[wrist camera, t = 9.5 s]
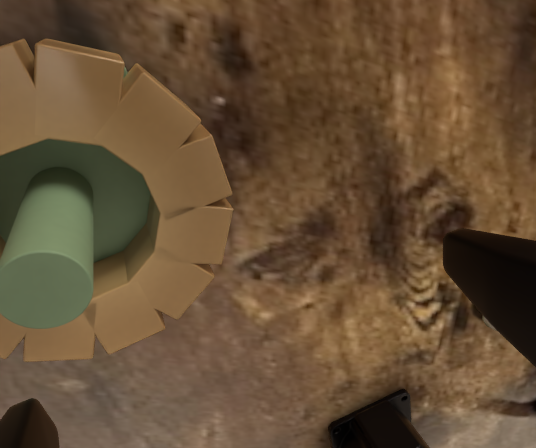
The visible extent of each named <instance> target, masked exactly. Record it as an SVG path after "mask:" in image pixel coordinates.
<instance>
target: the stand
mask: <svg viewBox="0 0 536 448" xmlns="http://www.w3.org/2000/svg"><path fill="white" fill-rule="evenodd" d="M126 75H127V70H126V68H125V66H124V76H123V78H124V77H125V76H126ZM150 194H151V193H150V191H149V189H148V187H147V185H146V182H145V180H144V178H143V176H142V174H141V173H139V172H138V171H136V170H135V169H134V168H132V167H131V166H129V165H128V164H126V163H125V162H123V161H122V160H121V159H119V158H118V157H116V156H115V155H113V154H112V153H111V152H109V151H108V150H106V149H105V148H103V147H102V146H97V145H89V144H82V143H74V142H67V141H60V140H52V139H46V140H43V141H41V142H38V143H35V144H32V145H30V146H27V147H24V148H21V149H18V150H16V151H13V152H10V153H7V154H5V155H2V156H0V235H1V237H2V238H3V240H4V241H5V242H6V245H5V248H4V250H3V253H2V256H1V258H0V314H1V315H3V316H4V317H5V318H6V319H8V320H9V321H11V322H13V323H15V324H17V325H20V326H23V327H27V328H33V329H48V328H54V327H58V326H62V325H64V324H67V323H69V322H71V321H72V320H74V319H76V318H77V317H78V316H79V315H81V314H82V313H83V312H84V310H85V309H86V308H87V307H88V305H89V303H90V301H91V299H92V296H93V263H95V262H97V261H100V260H102V259H104V258H107V257H109V256H112V255H114V254H116V253H119V252H121V251H124V249H125V248H126V247H127V246H128V245H129V243H130V242H131V241H132V240H133V239H134V237H135V236H136V235H137V234H138V233H139V231H140V230H141V229H142V228H143V227H144V225H145V224H146V223H147V215H148V208H149V201H150Z"/></svg>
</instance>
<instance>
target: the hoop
mask: <svg viewBox="0 0 536 448" xmlns="http://www.w3.org/2000/svg"><path fill="white" fill-rule="evenodd" d="M124 66H125V64H124V61H123V60H122V58H121V56H120V55H119V54H116V53H112V52H107V51H102V50H98V49H93V48H89V47H84V46H80V45H75V44H70V43H66V42H61V41H57V40H52V39H47V38H46V39H43V40H41V41H40V42H38V43H36V44H35V55H33V53H32V51H31V49H30V48H29V46H28V44H27V42H26V40H25V39H21V40H18V41H15V42H11V43H8V44H5V45H2V46H0V156H2V155H5V154H7V153H10V152H13V151H16V150H18V149H21V148H24V147H27V146H30V145H32V144H35V143H38V142H41V141H43V140H46V139H52V140H60V141H67V142H74V143H82V144H89V145H97V146H102V147H103V148H105V149H106V150H108V151H109V152H111V153H112V154H113V155H115V156H116V157H118V158H119V159H121V160H122V161H123V162H125V163H126V164H128V165H129V166H131V167H132V168H134V169H135V170H136V171H138V172H139V173H141V174H142V176H143V178H144V180H145V182H146V185H147V187H148V189H149V191H150V193H151V194H150V201H149V208H148V215H147V223H146V224H145V225H144V227H143V228H142V229H141V230H140V231H139V233H138V234H137V235H136V236H135V237H134V239H133V240H132V241H131V242H130V243H129V245H128V246H127V247H126V248H125V249H124V251H121V252H119V253H116V254H114V255H112V256H109V257H107V258H104V259H102V260H100V261H97V262H95V263H93V296H92V299H91V301H90V303H89V305H88V307H87V308H86V309H85V310H84V312H83V313H82V314H81V315H79V316H78V317H77V318H76V319H74V320H72V321H71V322H69V323H67V324H64V325H62V326H58V327H54V328H48V329H33V328H27V327H23V326H20V325H17V324H15V323H13V322H11V321H9V320H8V319H6V318H5V317H4V316H3V315H1V314H0V358H3V359H6V358H7V357H8V356H9V355H10V354H11V352H12V351H13V350H14V349H15V348H16V346H17V345H18V344H19V343H20V342H21V340H22V339H23V338H24V350H23V360H24V362H36V361H57V360H78V359H92V358H93V355H94V346H95V336H96V337H97V338H98V340H99V341H100V343H101V344H102V346H103V347H104V349H105V350H106V352H107V354H109V355H110V354H112V353H114V352H116V351H119V350H121V349H123V348H125V347H127V346H130V345H132V344H134V343H136V342H138V341H140V340H143V339H145V338H147V337H149V336H151V335H154V334H156V333H158V332H160V331H162V330H164V329H165V324H164V320H163V315H162V313H164V314H166V315H168V316H170V317H172V318H174V319H176V320H178V319H179V318H180V317H181V316H182V314H183V313H184V312H185V311H186V310H187V309H188V308H189V306H190V305H191V304H192V303H193V302H194V301H195V299H196V298H197V297H198V296H199V295H200V294H201V293H202V291H203V290H204V289H205V288H206V287H207V286H208V284H209V283H210V282H211V281H212V280H213V279H214V277H215V276H214V274H213V271H212V269H211V267H210V265H209V264H222V260H223V256H224V251H225V246H226V242H227V237H228V233H229V228H230V223H231V219H232V214H233V208H232V206H231V205H230V204H229V202H228V201H227V199H226V197H228V196H230V195H232V190H231V188H230V185H229V182H228V179H227V176H226V173H225V170H224V168H223V165H222V162H221V159H220V156H219V153H218V151H217V148H216V145H215V142H214V139H213V136H212V135H211V134H210V133H209V132H208V131H207V130H206V129H205V128H204V127H203V126H202V125H201V124H200V123H201V119H200V118H199V117H198V116H197V115H196V114H195V113H194V112H193V111H192V110H191V109H190V108H189V107H188V106H187V105H186V104H185V103H183V102H182V101H181V100H180V99H179V98H178V97H176V96H175V95H174V94H173V93H172V92H171V91H169V90H168V89H167V88H166V87H165V86H164V85H162V84H161V83H160V82H159V81H158V80H156V79H155V78H154V77H153V76H152V75H151V74H149V73H148V72H147V71H146V70H145V69H144V68H142V67H141V66H140V65H139V64H137V63H136V64H135V65H134V66H133V67H132V68H131V70H130V71H129V72H128V73H127V75H126V76H125V77H124V78H123V76H124ZM5 245H6V242H5V241H4V240H3V238H2V237H1V235H0V258H1V256H2V253H3V250H4V248H5Z"/></svg>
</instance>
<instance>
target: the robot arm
mask: <svg viewBox="0 0 536 448" xmlns="http://www.w3.org/2000/svg"><path fill="white" fill-rule="evenodd" d="M443 266H444V269H445V271H446V273H447V274H448V275H449V276H450V278H451V279H452V280H453V281H454V282H455V283H456V285H457V286H458V287H459V288H460V289H461V290H462V292H463V293H464V294H465V295H466V296H467V297H468V299H469V300H470V301H471V302H472V303H473V304H474V306H475V307H476V308H477V309H478V310H479V312H480V313H481V314H482V315H483V316H484V317H485V318H486V319H487V320H488V322H489V323H490V324H491V325H492V326H493V327H494V328H495V329H496V330H497V331H498V332H499V333H500V334H502V335H503V336H504V337H505V338H506V339H507V340H508V341H509V342H510V343H511V344H512V345H513V346H514V347H515V348H516V349H517V350H518V351H519V352H520V353H521V354H522V355H523V356H524V357H526V358H527V359H528V360H529V361H530V362H531V363H532V364H533V365H534V366H535V367H536V241H534V240H528V239H522V238H516V237H511V236H505V235H499V234H493V233H487V232H481V231H476V230H470V229H464V228H460V229H457V230H454V231H452V232H449V233H447V234H446V235H445V236H444V238H443ZM328 432H329V437H330V442H331V447H332V448H430V447H429V446H428V445H427V444H426V442H425V441H424V440H423V438H422V437H421V436H420V434H419V433H418V432H417V431H416V429H415V428H414V427H413V425H412V424H411V408H410V394H409V393H408V392H407V391H406V390H405V389H402V390H399V391H397V392H395V393H393V394H391V395H389V396H387V397H385V398H383V399H380V400H378V401H376V402H374V403H372V404H370V405H368V406H366V407H364V408H361V409H359V410H357V411H355V412H353V413H351V414H349V415H347V416H345V417H342V418H340V419H338V420H336V421H334V422H332V423H331V424H330V425H329V427H328ZM0 448H59V437H58V432H57V428H56V426H55V424H54V423H53V421H52V420H51V418H50V417H49V415H48V414H47V412H46V411H45V410H44V408H43V407H42V405H41V404H40V402H39V401H38V400H36V399H33V398H31V399H28V400H26V401H23V402H21V403H18V404H16V405H13V406H12V407H10V408H9V409H8V411H7V412H6V413H5V415H4V416H3V417H2V419H1V420H0Z"/></svg>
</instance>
